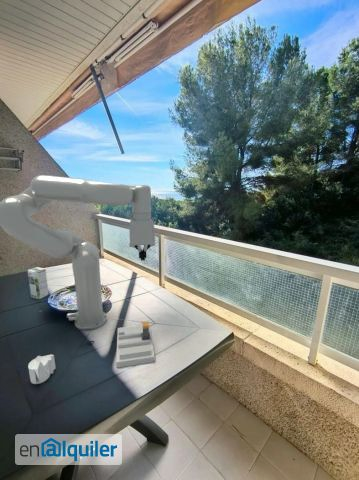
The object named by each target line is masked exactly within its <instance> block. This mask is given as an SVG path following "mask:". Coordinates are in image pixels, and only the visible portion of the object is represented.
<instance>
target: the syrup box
mask: <svg viewBox="0 0 359 480" xmlns="http://www.w3.org/2000/svg"><path fill="white" fill-rule="evenodd" d="M27 276H28V282H29V290H30V297H31V298H33V299H36V300H41V299H42V298H45V297H47V296H48V295H50V294H49V287H48V279H47V278H48V277H47V270H46V268H44V267H39V266H37V267H33V268H30V269H28V270H27Z"/></svg>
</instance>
